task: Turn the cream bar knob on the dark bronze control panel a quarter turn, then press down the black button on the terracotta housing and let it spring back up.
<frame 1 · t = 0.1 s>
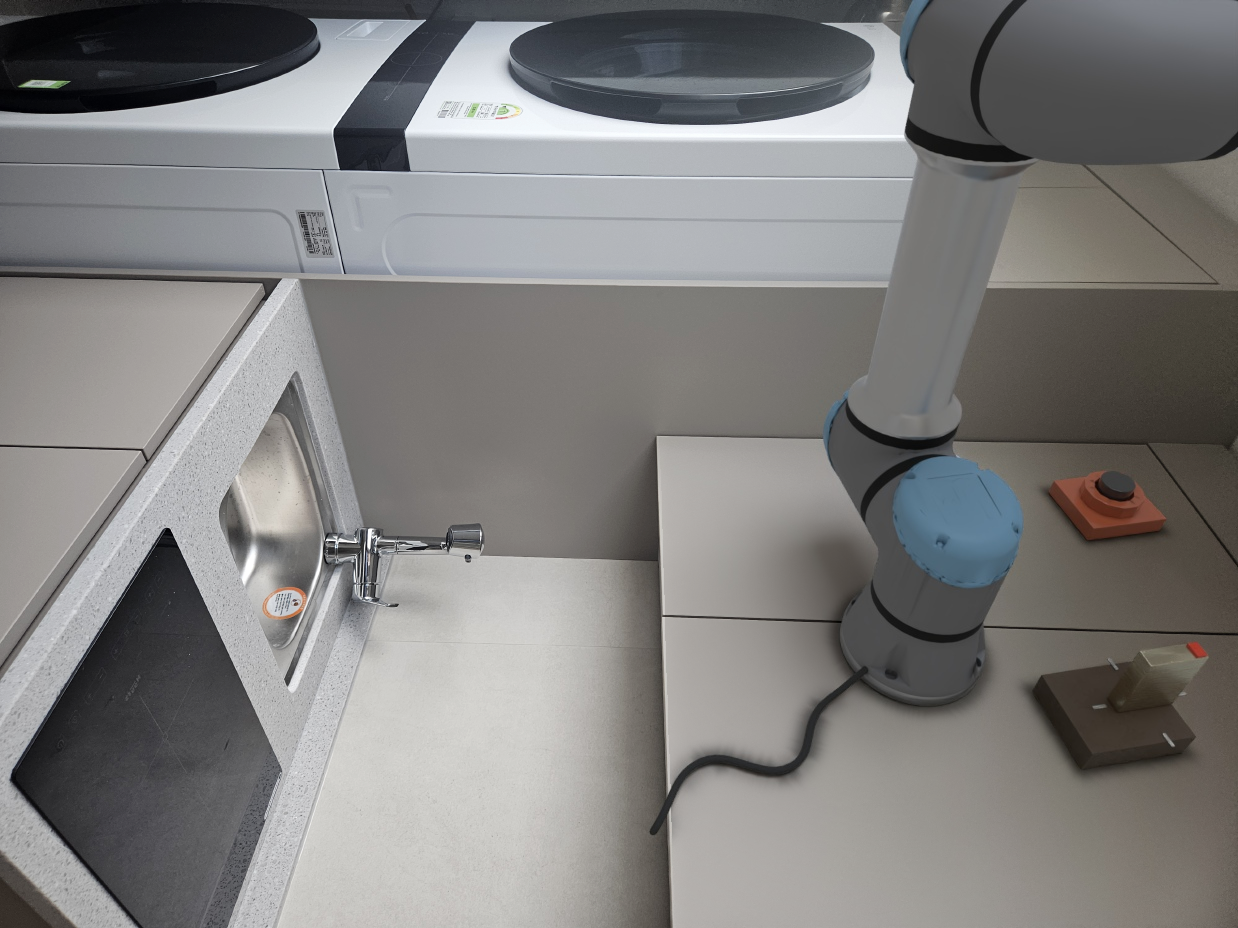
button box: (1102, 511, 106), on the worktop
button: (1115, 486, 103), point 4 cm above the worktop, slide at 0.1 cm
panel: (1104, 720, 83), on the worktop
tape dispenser: (917, 490, 109), on the worktop
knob: (1156, 677, 79), point 7 cm above the worktop, hinge at 0.0°
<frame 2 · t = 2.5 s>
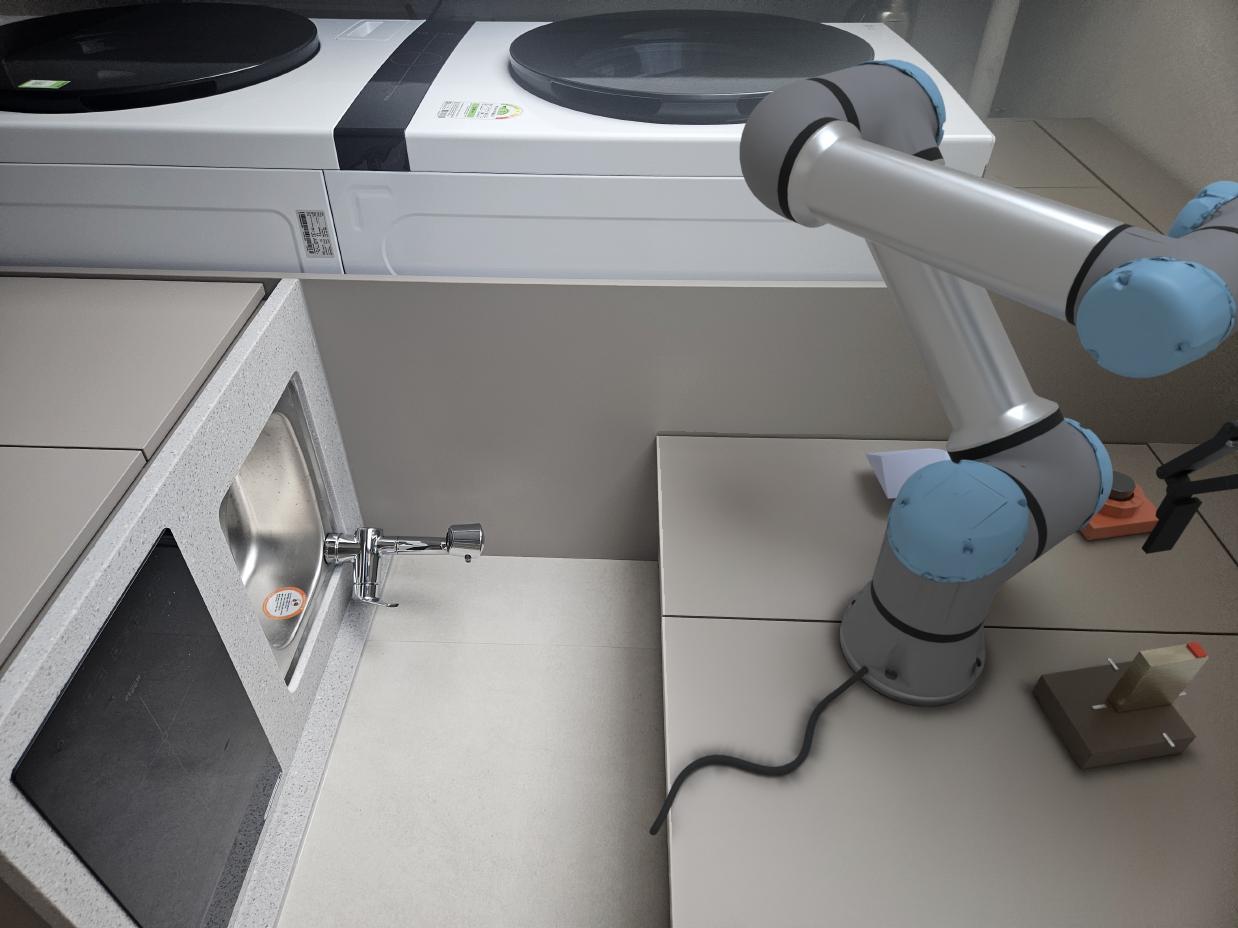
hand: (1205, 603, 74), 16 cm above the worktop, tool pointing down, fingers open, 13 cm apart
nothing on the worktop moved.
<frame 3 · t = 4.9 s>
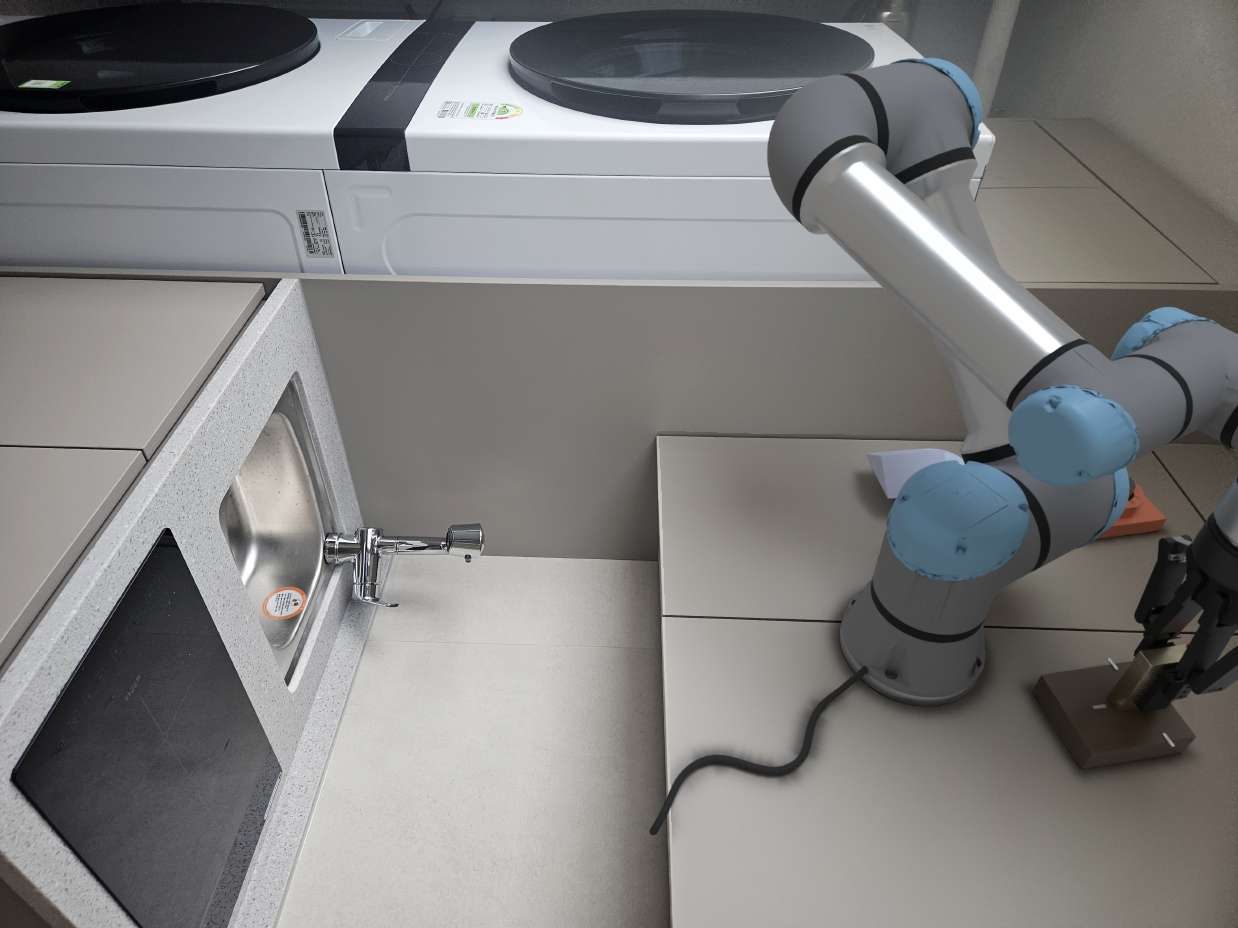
hand: (1143, 695, 81), 4 cm above the worktop, tool pointing down, fingers closed on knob, 2 cm apart
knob: (1156, 677, 79), point 7 cm above the worktop, hinge at 0.0°, touching gripper
everything else where it was.
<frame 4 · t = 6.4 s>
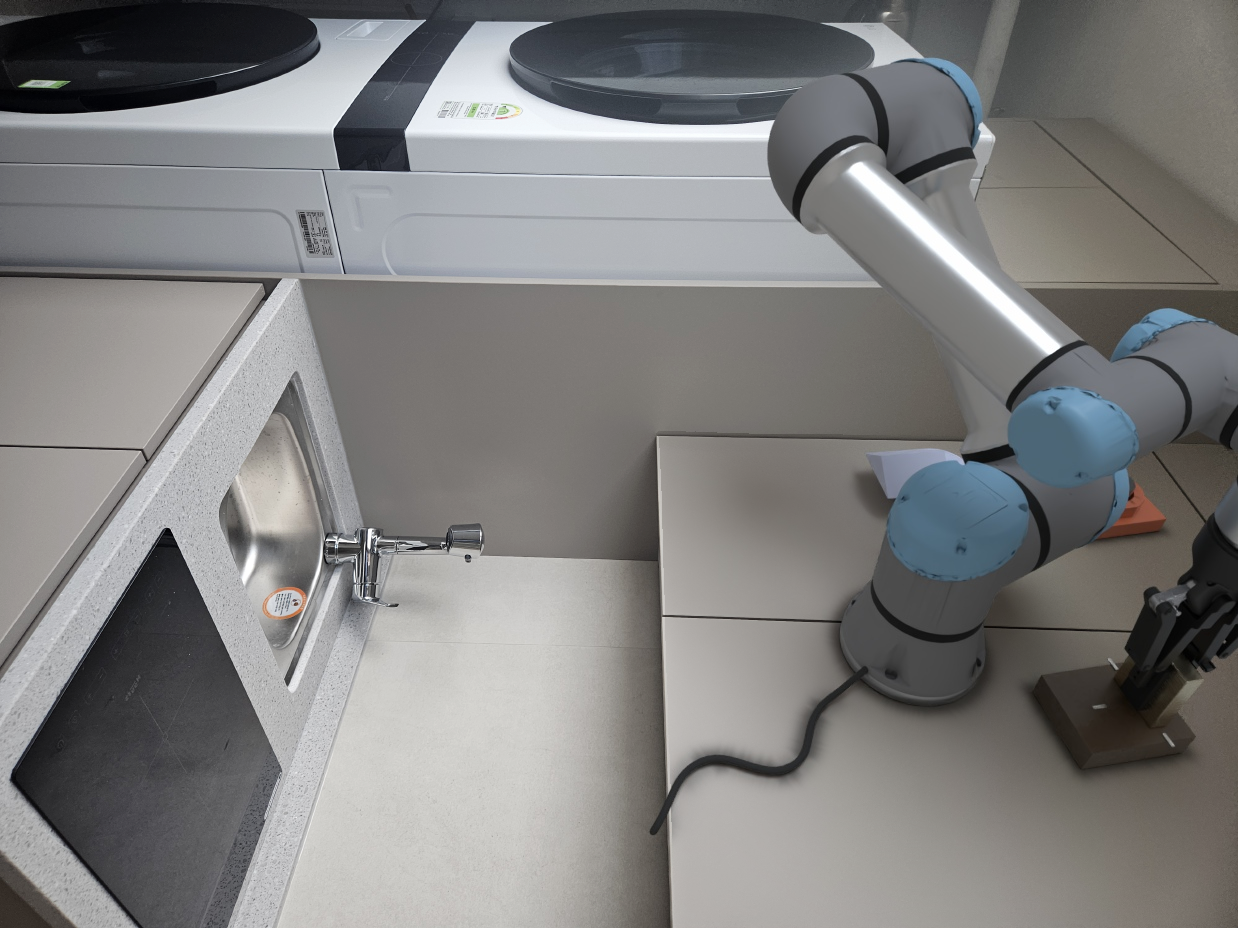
hand: (1143, 696, 81), 4 cm above the worktop, tool pointing down, fingers closed
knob: (1156, 677, 79), point 7 cm above the worktop, hinge at 89.8°
everything else where it was.
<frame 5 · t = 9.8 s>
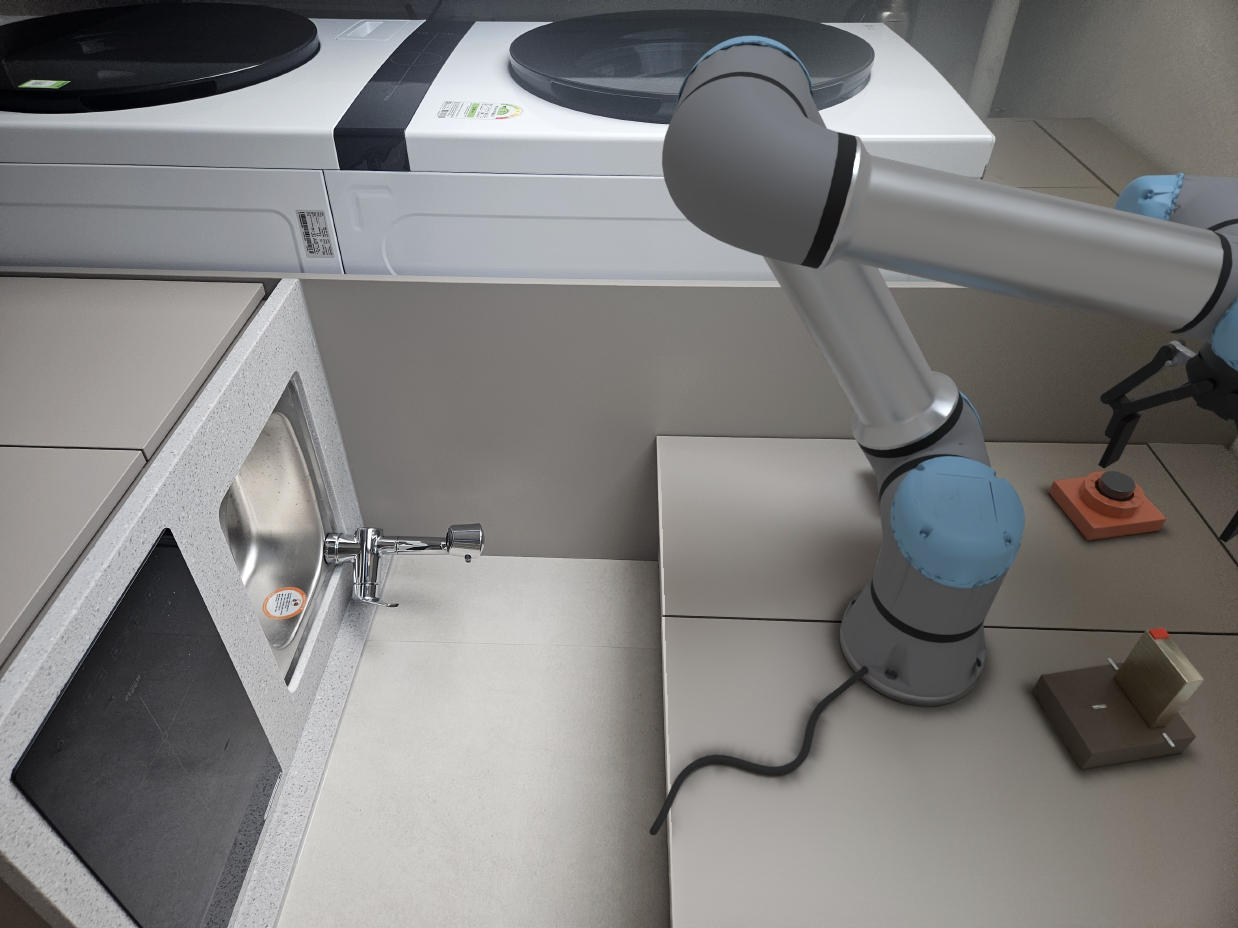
hand: (1165, 497, 87), 14 cm above the worktop, tool pointing down, fingers open, 13 cm apart
nothing on the worktop moved.
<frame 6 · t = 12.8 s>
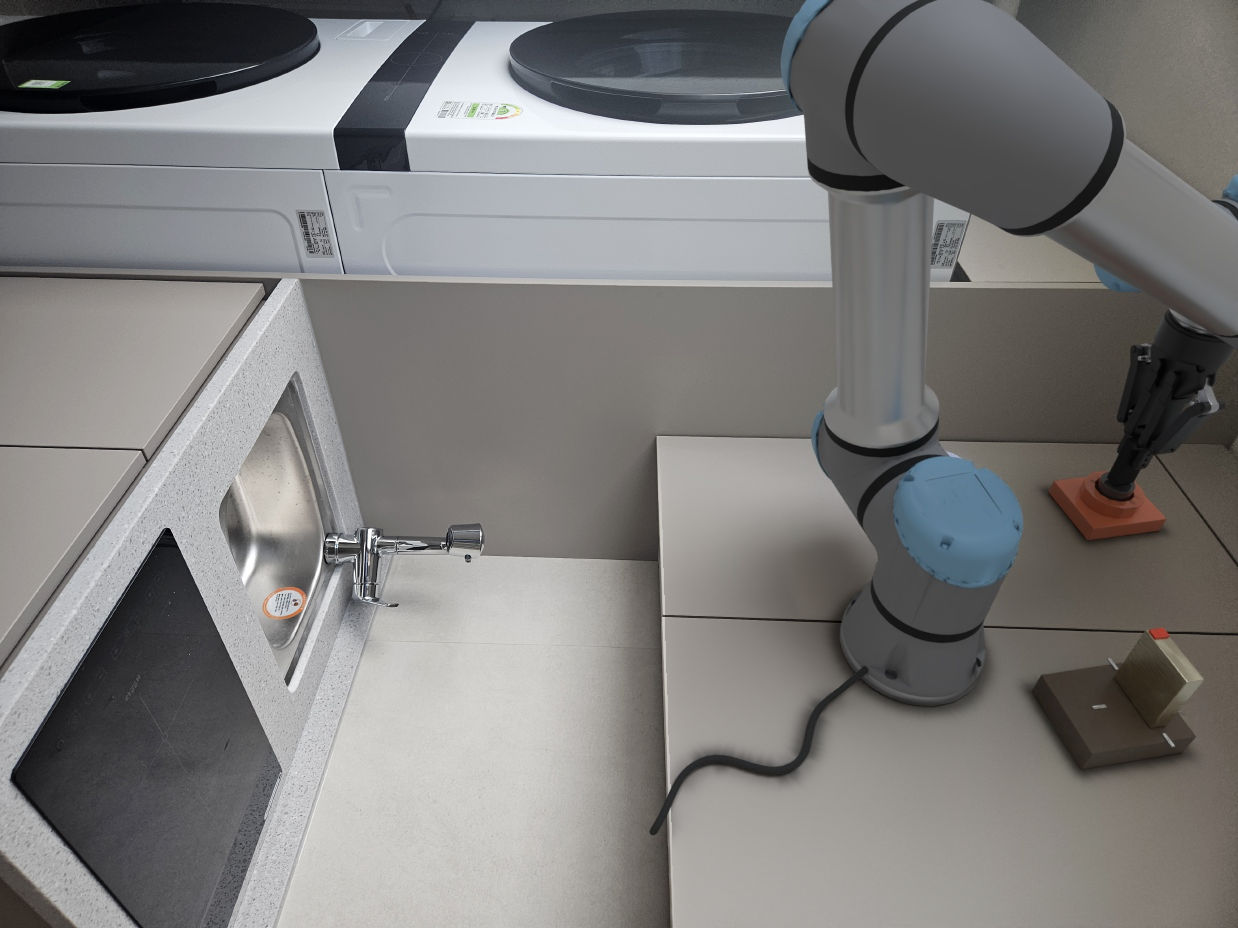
hand: (1120, 480, 102), 6 cm above the worktop, tool pointing down, fingers closed
button: (1115, 486, 103), point 4 cm above the worktop, slide at 0.0 cm, touching gripper
everything else where it was.
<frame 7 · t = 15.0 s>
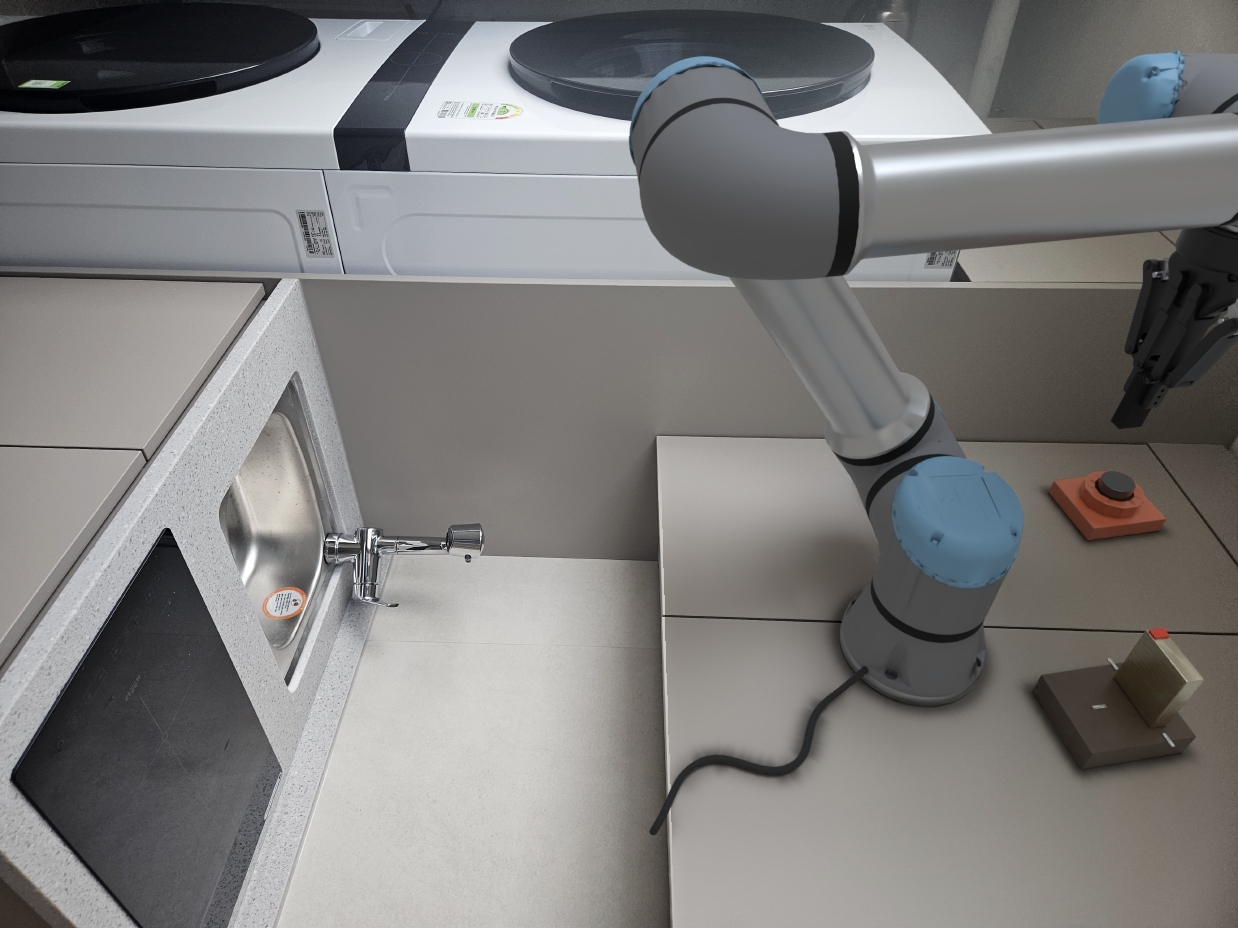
hand: (1125, 423, 88), 20 cm above the worktop, tool pointing down, fingers closed
button: (1115, 486, 103), point 4 cm above the worktop, slide at 0.1 cm
everything else where it was.
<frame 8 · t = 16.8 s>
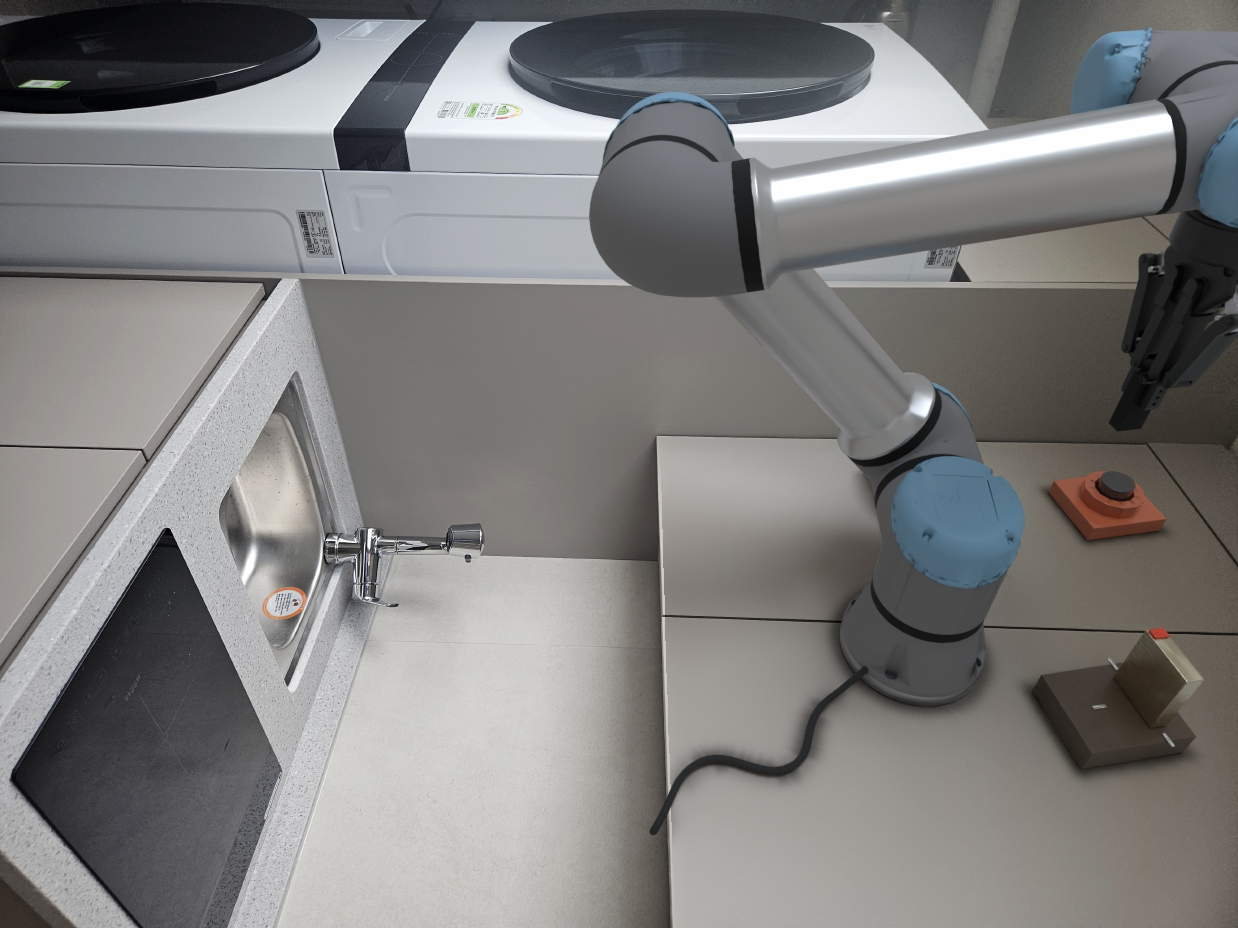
hand: (1124, 425, 84), 22 cm above the worktop, tool pointing down, fingers closed
nothing on the worktop moved.
at the end: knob at +90° (first picture: +0°); button pushed in 1.0 cm at the most during the clip, back to where it started at the end; button slide at 0.1 cm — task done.
